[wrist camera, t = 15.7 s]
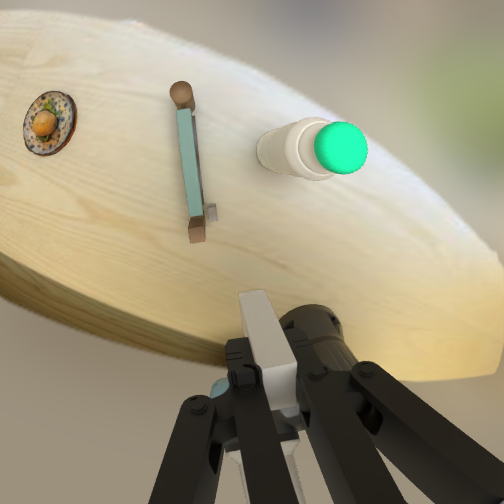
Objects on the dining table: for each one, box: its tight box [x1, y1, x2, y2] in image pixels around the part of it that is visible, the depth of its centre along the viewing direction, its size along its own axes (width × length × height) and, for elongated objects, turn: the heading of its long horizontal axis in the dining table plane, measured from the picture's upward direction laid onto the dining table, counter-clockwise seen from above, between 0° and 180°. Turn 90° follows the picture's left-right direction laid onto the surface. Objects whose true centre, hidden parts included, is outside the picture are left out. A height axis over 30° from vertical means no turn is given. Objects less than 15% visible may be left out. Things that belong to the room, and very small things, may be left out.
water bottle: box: [257, 117, 368, 181], centre depth 33 cm, size 7×7×25 cm
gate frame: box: [170, 81, 218, 243], centre depth 38 cm, size 21×4×11 cm, turn 6°
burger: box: [23, 91, 77, 156], centre depth 33 cm, size 12×12×8 cm
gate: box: [176, 108, 203, 217], centre depth 38 cm, size 14×2×8 cm, turn 6°
